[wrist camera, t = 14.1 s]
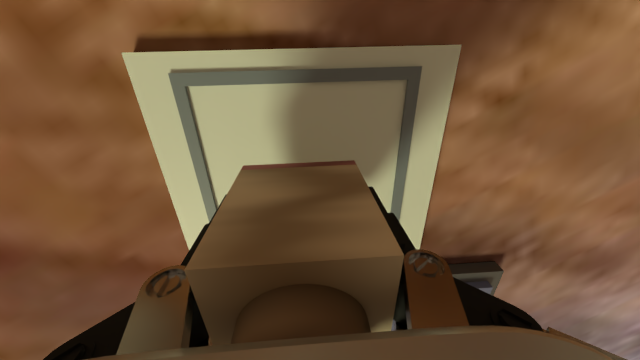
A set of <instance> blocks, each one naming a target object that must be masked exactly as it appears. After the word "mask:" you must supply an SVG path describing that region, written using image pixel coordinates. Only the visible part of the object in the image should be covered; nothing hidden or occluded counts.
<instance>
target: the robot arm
mask: <svg viewBox="0 0 640 360" xmlns="http://www.w3.org/2000/svg"><path fill="white" fill-rule="evenodd" d="M369 189H370V191H371V193H372V195H373V197H374V199H375V201H376V203H377V204H378V206H379V208H380V210H381V212H382V214H383V216H384V218H385V220H386V222H387V223H388V225H389V227H390V229H391V231H392V233H393V235H394V237H395V239H396V241H397V242H398V244H399V246H400V248H401V250H402V252H403V254H404V259H403V265H402V271H401V277H400V282H399V288H398V294H397V300H396V305H395V311H394V317H393V320H394V321H393V324H394V331H382V332H369V333H357V334H344V335H331V336H319V337H307V338H295V339H283V340H271V341H259V342H248V343H236V344H225V345H214V346H213V345H212V342H211V340H210V337H209V334H208V332H207V329H206V326H205V324H204V321H203V318H202V316H201V313H200V310H199V308H198V305H197V302H196V300H195V297H194V294H193V292H192V289H191V286H190V284H189V281H188V278H187V276H186V273H185V268H186V266H187V265H188V263H189V261H190V259H191V257H192V256H193V254H194V252H195V250H196V249H197V247H198V245H199V243H200V241H201V240H202V238H203V236H204V234H205V233H206V231H207V229H208V227H209V225H210V224H211V222H212V220H213V218H214V217H215V215H216V213H217V211H218V209H219V208H220V206H221V204H222V202H223V201H224V199H225V197H226V195H227V194H226V195H225V196H224V198H223V200H222V202H221V203H220V205H219V207H218V209H217V210H216V212H215V214H214V215H213V217H212V219H211V221H210V222H209V223H208V224H205V226H204V227H203V229H202V230H201V232H200V234H199V235H198V237H197V239H196V240H195V242H194V244H193V245H192V247H191V249H190V250H189V252H188V254H187V255H186V257H185V259H184V260H183V262H182V264H181V265H176V266H170V267H167V268H164V269H162V270H160V271H158V272H156V273H154V274H153V275H152V276H150V277H149V278H148V279H147V280H146V281H145V282H144V283H143V285H142V287H141V289H140V291H139V294H138V296H137V299H136V302H134V303H133V304H131V305H129V306H127V307H126V308H124V309H122V310H121V311H119V312H117V313H115V314H114V315H112V316H110V317H109V318H107V319H105V320H103V321H102V322H100V323H98V324H97V325H95V326H93V327H91V328H90V329H88V330H86V331H85V332H83V333H81V334H79V335H78V336H76V337H74V338H73V339H71V340H69V341H67V342H66V343H64V344H63V345H61V346H60V347H58V348H57V349H55V350H54V351H52V352H51V353H50V354H49V355H48V356H47V357H45V358H44V359H43V360H626V359H624V358H622V357H619V356H617V355H615V354H612V353H610V352H607V351H605V350H603V349H600V348H598V347H595V346H593V345H591V344H588V343H586V342H583V341H581V340H579V339H576V338H574V337H572V336H569V335H567V334H564V333H562V332H560V331H557V330H555V329H552V328H550V327H548V328H547V330H544V329H542V328H541V326H540V325H539V324H538V323H537V322H536V321H535V320H534V319H533V318H532V317H531V316H530V315H528V314H527V313H526V312H524V311H523V310H521V309H519V308H517V307H515V306H513V305H511V304H509V303H507V302H505V301H503V300H501V299H499V298H496V297H494V296H492V295H490V294H488V293H486V292H484V291H482V290H480V289H477V288H475V287H473V286H471V285H469V284H467V283H465V282H463V281H461V280H458V279H456V278H454V277H453V276H452V273H451V270H450V267H449V266H448V264H447V262H446V261H445V260H444V259H443V258H442V257H440V256H439V255H437V254H436V253H433V252H431V251H428V250H423V249H415V247H414V245H413V244H412V242H411V240H410V239H409V237H408V235H407V234H406V232H405V231H404V229H403V227H402V226H401V224H400V222H399V221H398V219H397V217H396V216H395V214H394V213H387V211H386V209H385V207H384V205H383V204H382V202H381V200H380V198H379V197H378V195H377V193H376V191H375V190H374V188H373V187H372V186H371V187H369Z"/></svg>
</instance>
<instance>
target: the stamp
mask: <svg viewBox="0 0 640 360" xmlns="http://www.w3.org/2000/svg"><path fill="white" fill-rule="evenodd" d="M403 259H404V254H403V252H402V250H401V248H400V246H399V244H398V242H397V241H396V239H395V237H394V235H393V233H392V231H391V229H390V227H389V225H388V223H387V222H386V220H385V218H384V216H383V214H382V212H381V210H380V208H379V206H378V204H377V203H376V201H375V199H374V197H373V195H372V193H371V191H370V189H369V187H368V185H367V183H366V182H365V180H364V178H363V176H362V174H361V172H360V170H359V168H358V166H357V164H356V163H355V161H354V160H350V161H329V162H307V163H286V164H265V165H244V166H243V167H242V169H241V170H240V172H239V174H238V176H237V177H236V179H235V181H234V183H233V185H232V186H231V188H230V190H229V192H228V193H227V195H226V197H225V199H224V201H223V202H222V204H221V206H220V208H219V209H218V211H217V213H216V215H215V217H214V218H213V220H212V222H211V224H210V225H209V227H208V229H207V231H206V233H205V234H204V236H203V238H202V240H201V241H200V243H199V245H198V247H197V249H196V250H195V252H194V254H193V256H192V257H191V259H190V261H189V263H188V265H187V266H186V268H185V273H186V276H187V278H188V281H189V284H190V286H191V289H192V292H193V294H194V297H195V300H196V302H197V305H198V308H199V310H200V313H201V316H202V318H203V321H204V324H205V326H206V329H207V332H208V334H209V337H210V340H211V342H212V345H213V346H214V345H225V344H236V343H248V342H259V341H271V340H283V339H295V338H307V337H319V336H331V335H344V334H357V333H369V332H382V331H391V328H392V323H393V317H394V311H395V305H396V300H397V294H398V288H399V282H400V277H401V271H402V265H403Z"/></svg>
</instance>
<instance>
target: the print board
mask: <svg viewBox="0 0 640 360" xmlns="http://www.w3.org/2000/svg"><path fill="white" fill-rule="evenodd" d="M461 46H462V45H424V46H382V47H340V48H298V49H256V50H214V51H172V52H130V53H122V56H123V59H124V62H125V64H126V67H127V70H128V73H129V76H130V79H131V82H132V85H133V88H134V91H135V94H136V97H137V99H138V102H139V105H140V108H141V111H142V114H143V117H144V120H145V123H146V126H147V129H148V132H149V135H150V137H151V140H152V143H153V146H154V149H155V152H156V155H157V158H158V161H159V164H160V167H161V170H162V172H163V175H164V178H165V181H166V184H167V187H168V190H169V193H170V196H171V199H172V202H173V205H174V207H175V210H176V213H177V216H178V219H179V222H180V225H181V228H182V231H183V234H184V237H185V240H186V242H187V245H188V248H189V250H190V249H191V247H192V245H193V244H194V242H195V240H196V239H197V237H198V235H199V234H200V232H201V230H202V229H203V227H204V226H205V224H208V223H209V222H210V221H211V219H212V217H213V215H214V214H215V212H216V210H217V209H218V207H219V205H220V203H221V202H222V200H223V198H224V196H225V195H226V194H227V193H228V192H229V190H230V188H231V186H232V185H233V183H234V181H235V179H236V177H237V176H238V174H239V172H240V170H241V169H242V167H243V166H244V165H265V164H286V163H307V162H329V161H350V160H354V161H355V163H356V164H357V166H358V168H359V170H360V172H361V174H362V176H363V178H364V180H365V182H366V183H367V185H368V187H371V186H372V187H373V188H374V190H375V191H376V193H377V195H378V197H379V198H380V200H381V202H382V204H383V205H384V207H385V209H386V211H387V213H394V214H395V216H396V217H397V219H398V221H399V222H400V224H401V226H402V227H403V229H404V231H405V232H406V234H407V235H408V237H409V239H410V240H411V242H412V244H413V245H414V247H415V249H420V245H421V240H422V235H423V230H424V225H425V220H426V216H427V211H428V206H429V201H430V196H431V191H432V186H433V182H434V177H435V172H436V167H437V162H438V157H439V153H440V148H441V143H442V138H443V133H444V128H445V123H446V119H447V114H448V109H449V104H450V99H451V94H452V89H453V85H454V80H455V75H456V70H457V65H458V60H459V56H460V51H461Z"/></svg>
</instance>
